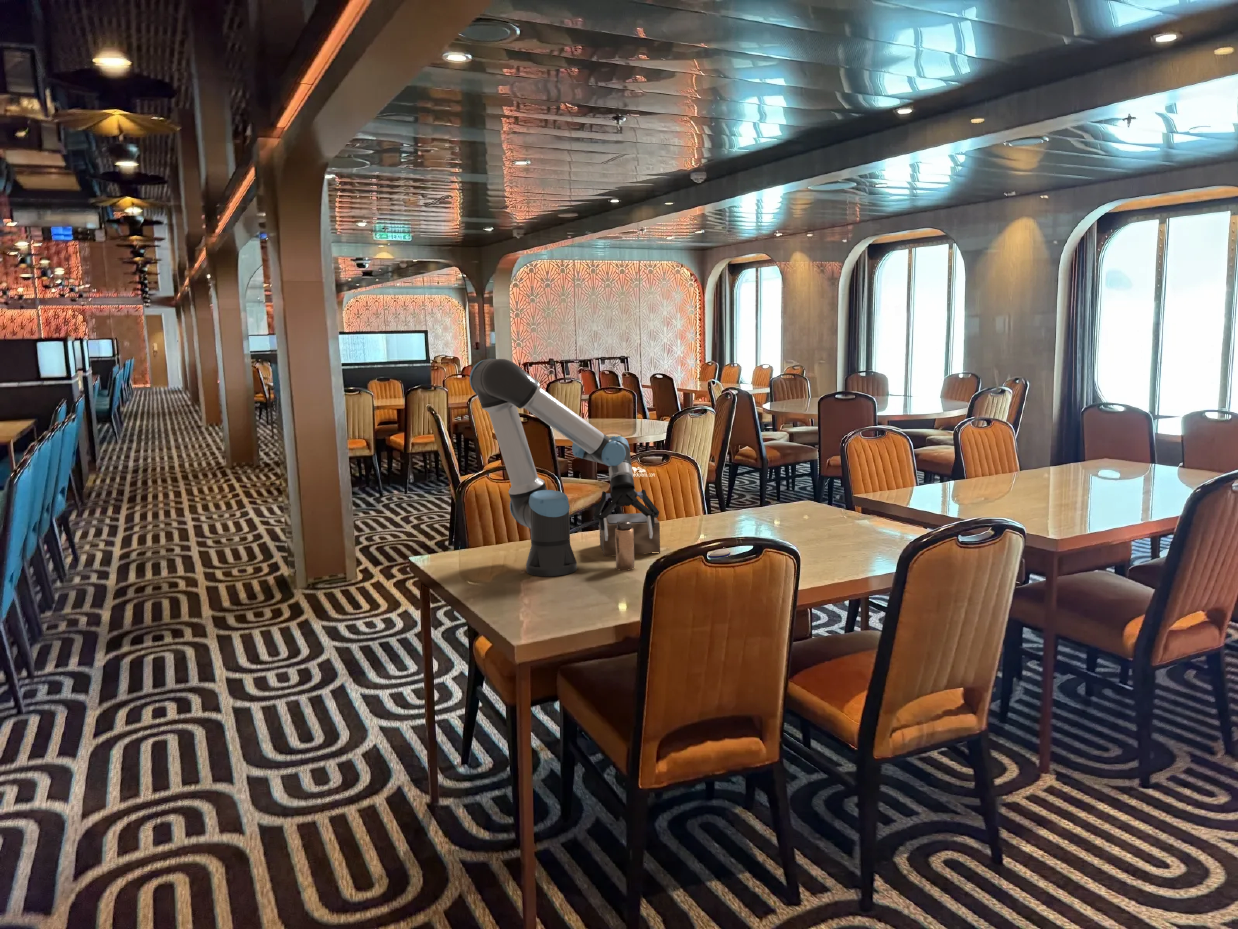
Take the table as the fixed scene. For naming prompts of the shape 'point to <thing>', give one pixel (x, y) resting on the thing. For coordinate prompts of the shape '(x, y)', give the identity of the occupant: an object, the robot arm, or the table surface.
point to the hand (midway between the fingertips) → (629, 537)
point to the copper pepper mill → (624, 545)
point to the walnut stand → (640, 534)
